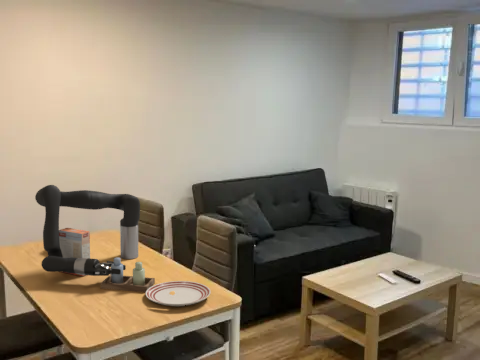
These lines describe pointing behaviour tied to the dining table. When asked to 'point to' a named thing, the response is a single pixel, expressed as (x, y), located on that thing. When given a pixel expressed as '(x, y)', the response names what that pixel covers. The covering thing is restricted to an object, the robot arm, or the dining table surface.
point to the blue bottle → (117, 277)
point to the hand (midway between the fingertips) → (122, 269)
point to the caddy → (127, 284)
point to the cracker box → (74, 244)
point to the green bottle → (138, 274)
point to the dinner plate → (178, 293)
